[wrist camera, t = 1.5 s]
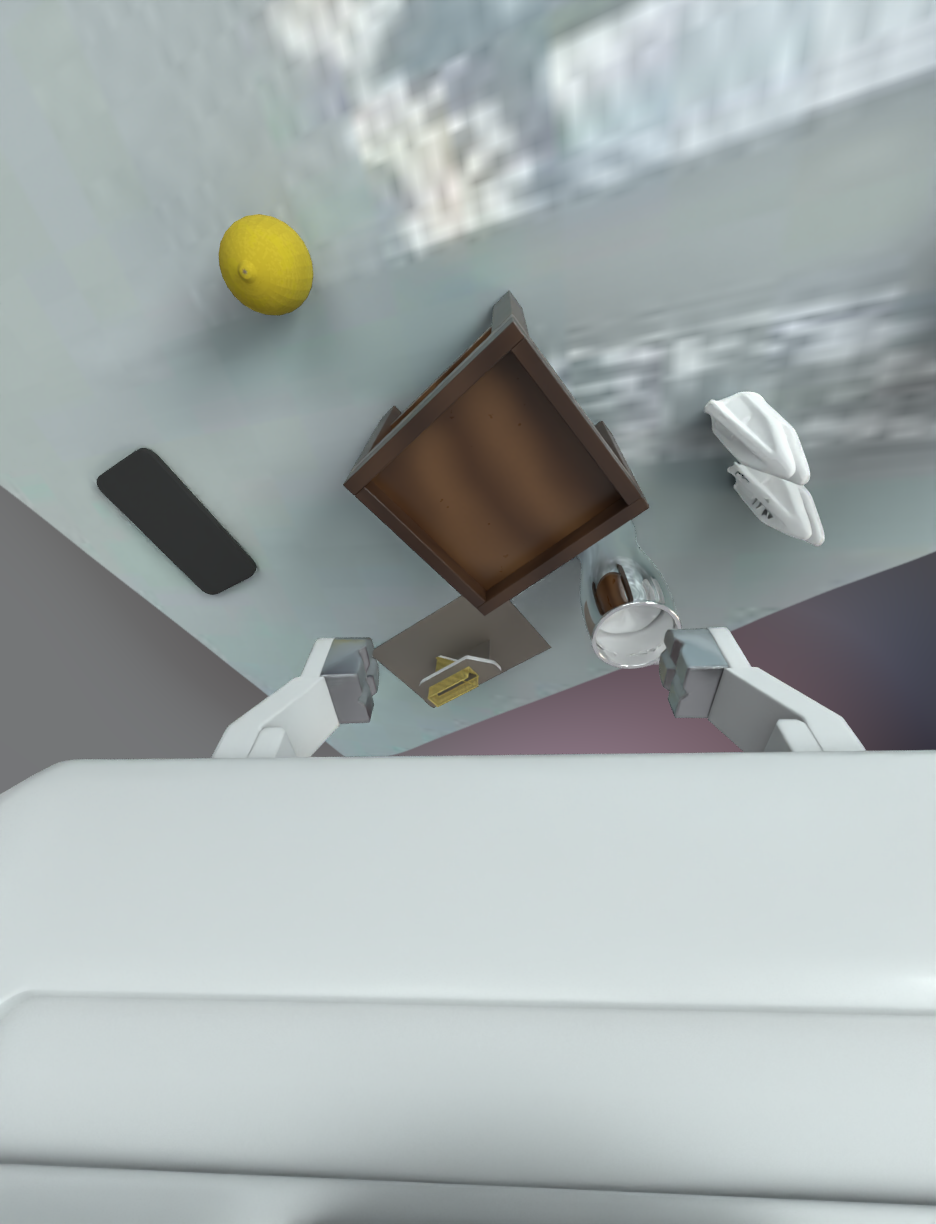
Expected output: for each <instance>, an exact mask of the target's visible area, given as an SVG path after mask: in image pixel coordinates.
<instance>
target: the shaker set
mask: <svg viewBox="0 0 936 1224" xmlns="http://www.w3.org/2000/svg"><path fill="white" fill-rule="evenodd" d="M704 412H705V413H707V414H710V416H711V420H712V432H713V433H714V434H715V435H716V436H717V437H718V439H719V440H720V441H721V442H722V443H723V444H724V446H725V447H726V448H727V449H728V450H729V451H730V452H731V454H732V455H733V456H734V457H735V458H736V459H737V460H738V461H739V462H740V463H741V464H738V463H737V462H733V463H734V465H732V466H731V467H730V466H729V467H728V470H727V471H728V473H731V474H732V475H733V476H734V477H735V478H736V484H735V485H734V486H733V487H734V489H735V490H736V491H737V492H738V494H739V495H740V496H741V498H742V499H743V500H744V502H745V503H746V504H747V505H748V507H749V508H750V509H751V510H752V512H753V513H754V514H755V515H756V516H757V518H758V519H759V520H760V521H761V522H763V523H764V524H766V525H768V526H770V527H772V528H774V529H776V530H778V531H780V532H782V533H785V534H787V535H789V536H792V537H794V538H797V539H800V540H804V541H806V542H808V543H810V544H812V545H814V546H820V545H821V544H822V543H823V542H824V540H825V534H824V530H823V527H822V524H821V521H820V518H819V515H818V512H817V509H816V506H815V504H814V501H813V498H812V496H811V494H810V493H809V491H808V490H807V489H806V488H805V487H804V486H803V485H804V484H806V483H807V482H808V481H809V479H810V470H809V466H808V463H807V460H806V457H805V454H804V452H803V449H802V446H801V443H800V441H799V438H798V435H797V433H796V431H795V429H794V428H793V427H792V426H791V425H790V424H789V423H788V422H787V421H786V420H785V419H784V418H783V417H781V416H780V415H779V414H778V413H777V412H776V411H775V410H774V409H773V408H771V407H770V406H769V405H768V404H767V403H766V402H765V400H764V399H763V397H761V396H760V395H759V394H757V393H754V392H739V393H737V394H734V395H732V396H729V397H727V398H724V399H721V400H718V401H715V400H713V399H712V400H710V401H709V402H708V403H707V404H706V406H705V408H704ZM737 471H739V472H740V473H741V474H743V475H744V478H747V479H748V480H749V483H748V481H747V480H746V479H744V478H743V479H742V475H741V474H740V475H739V474H738V473H737V474H736V475H735V473H736V472H737Z"/></svg>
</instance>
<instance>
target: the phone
mask: <svg viewBox="0 0 936 1224" xmlns="http://www.w3.org/2000/svg"><path fill="white" fill-rule="evenodd" d="M97 485H98V487H99V489H100V490H101V492H102V493H103V494H104V495H105V496H106V497H107V498H108V499H109V500H110V501H111V502H112V503H113V504H114V505H115V506H116V507H117V508H119V509H120V510H121V511H122V512H123V513H124V514H125V515H126V516H127V517H128V518H129V519H130V520H131V521H132V522H133V523H134V524H135V525H136V526H137V527H138V528H139V529H140V530H141V531H142V532H143V533H144V534H145V535H146V536H147V537H148V538H149V539H150V540H151V541H152V542H153V543H154V544H155V545H156V546H157V547H158V548H159V549H160V550H161V551H162V552H163V553H164V554H165V555H166V556H167V557H168V558H169V559H170V560H171V561H172V562H173V563H174V564H175V565H176V566H177V567H178V568H180V569H181V570H182V571H183V572H184V573H185V574H186V575H187V576H188V577H189V578H190V579H191V580H192V581H193V582H194V583H195V584H196V585H197V586H198V587H199V588H200V589H201V590H202V591H204V592H205V593H207V594H210V595H214V594H218V593H220V592H222V591H224V590H226V589H228V588H230V587H232V586H234V585H236V584H238V583H240V582H241V581H243V580H245V579H247V578H249V577H251V576H252V575H253V574H254V572H255V571H256V564H255V563H254V561H253V560H252V559H251V558H250V557H249V555H248V554H247V553H246V552H245V551H244V550H243V549H242V548H241V547H240V546H239V544H238V543H237V542H236V541H235V540H234V539H233V538H232V537H231V536H230V535H229V533H228V532H227V531H226V530H225V529H224V528H223V527H222V526H221V525H220V524H219V522H218V521H217V520H216V519H215V518H214V517H213V516H212V515H211V514H210V513H209V511H208V510H207V509H206V508H205V507H204V506H203V505H202V504H201V503H200V501H199V500H198V499H197V498H196V497H195V496H194V495H193V494H192V493H191V492H190V490H189V489H188V488H187V487H186V486H185V485H184V484H183V483H182V482H181V481H180V479H179V478H178V477H177V476H176V475H175V474H174V473H173V472H172V471H171V470H170V468H169V467H168V466H167V465H166V464H165V463H164V462H163V461H162V460H161V459H160V458H159V456H158V455H157V454H155V453H154V452H153V451H151V450H149V449H146V448H142V449H139V450H137V451H135V452H134V453H132V454H131V455H129V456H128V457H126V458H125V459H123V460H122V461H120V462H119V463H117V464H116V465H114V466H113V467H112V468H110V469H109V470H107V471H106V472H104V473H103V474H102V475H100V476H99V477H98V479H97Z"/></svg>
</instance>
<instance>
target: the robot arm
mask: <svg viewBox="0 0 936 1224" xmlns="http://www.w3.org/2000/svg"><path fill="white" fill-rule="evenodd" d="M664 643H665V646H666V649H665V650H664V651H663V652H662V653H661V655H660V661H659V673H660V679H661V682H662V685H663V687H664V688H666V689H667V690H668V691H670V692H669V697H668V701H669V703H670V706H671V708H672V711H673V714H674V716H675V718H708V720H709V721H710V722H711V723H712V724H714V726H716V727H717V728H718V729H719V730H720V731H721V732H722V733H723V734H724V735H726V736H727V737H728V738H729V739H730V740H731V741H732V742H733V743H735V744H736V745H737V746H738V747H739V748H740V749H741V750H742V751H744V752H721V753H644V754H551V755H550V754H548V755H547V754H544V755H466V756H465V755H464V756H373V757H311V756H312V755H313V753H314V752H315V751H316V750H317V749H318V748H319V747H320V746H321V745H322V744H323V743H324V742H325V741H326V740H327V738H328V737H329V736H330V735H331V734H332V733H333V732H334V731H335V730H336V729H337V728H338V727H339V726H340V724H344V723H368V722H370V718H371V714H372V710H373V706H374V703H373V698H372V696H373V695H375V694H376V693H377V690H378V685H379V667H378V663H377V660H376V659H375V658H374V657H373V656H372V655H373V651H374V646H373V642H372V639H371V638H318V639H317V640H316V641H315V643H314V645H313V647H312V650H311V652H310V654H309V657H308V659H307V661H306V664H305V666H304V668H303V671H302V673H301V675H300V677H295V678H293V679H292V680H290V681H289V682H288V683H286V684H285V685H284V686H282V687H281V688H280V689H278V690H277V691H275V692H274V693H273V694H271V695H270V696H269V697H267V698H266V699H264V700H263V701H262V702H260V703H259V704H258V705H256V706H255V707H254V708H252V709H251V710H250V711H248V712H247V713H245V714H244V715H243V716H241V717H240V718H239V719H237V720H236V721H234V722H233V723H232V724H230V725H229V726H228V727H227V728H226V730H225V732H224V734H223V736H222V738H221V740H220V742H219V744H218V745H217V747H216V749H215V751H214V753H213V755H212V757H211V758H189V759H75V760H67V761H62V762H59V763H56V764H54V765H52V766H50V767H48V768H46V769H44V770H42V771H40V772H39V773H37V774H35V775H33V776H31V777H29V778H28V779H26V780H24V781H22V782H21V783H19V784H18V785H16V786H14V787H12V788H10V789H9V790H7V791H5V792H4V793H2V794H0V1224H936V750H908V751H907V750H906V751H905V750H903V751H902V750H900V751H899V750H897V751H866V750H865V748H864V747H863V745H862V744H861V742H860V741H859V740H858V738H857V737H856V736H855V734H854V733H853V731H852V730H851V729H850V727H849V726H848V724H847V723H846V722H845V720H844V719H843V718H842V717H841V716H839V715H837V714H836V713H834V712H832V711H831V710H829V709H827V708H826V707H824V706H822V705H820V704H819V703H817V702H815V701H814V700H812V699H810V698H809V697H807V696H805V695H804V694H802V693H800V692H798V691H797V690H795V689H793V688H792V687H790V686H788V685H786V684H785V683H783V682H781V681H780V680H778V679H776V678H775V677H773V676H771V675H770V674H768V673H766V672H764V671H763V670H761V669H759V668H758V667H751V666H750V664H749V662H748V661H747V659H746V657H745V656H744V654H743V652H742V651H741V649H740V647H739V646H738V644H737V643H736V641H735V639H734V638H733V636H732V634H731V633H730V631H729V629H727V628H726V627H713V628H700V629H669V630H667V632H666V633H665V637H664Z"/></svg>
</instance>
